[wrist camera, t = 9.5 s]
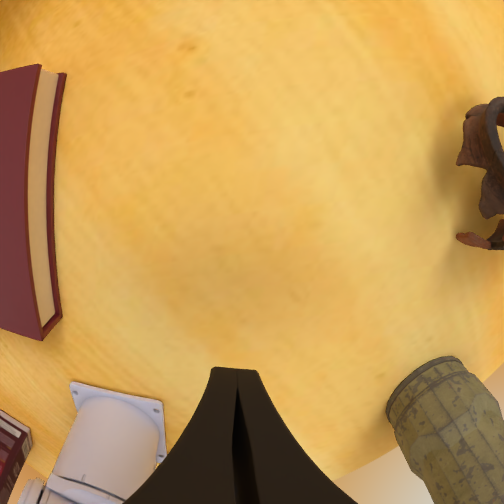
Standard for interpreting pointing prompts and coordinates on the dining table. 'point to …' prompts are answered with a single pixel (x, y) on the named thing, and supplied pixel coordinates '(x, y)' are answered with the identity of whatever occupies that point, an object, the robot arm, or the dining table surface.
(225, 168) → the dining table surface
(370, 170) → the dining table surface
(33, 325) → the book
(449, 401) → the thermos
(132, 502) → the robot arm
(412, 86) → the dining table surface
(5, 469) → the supplement box
